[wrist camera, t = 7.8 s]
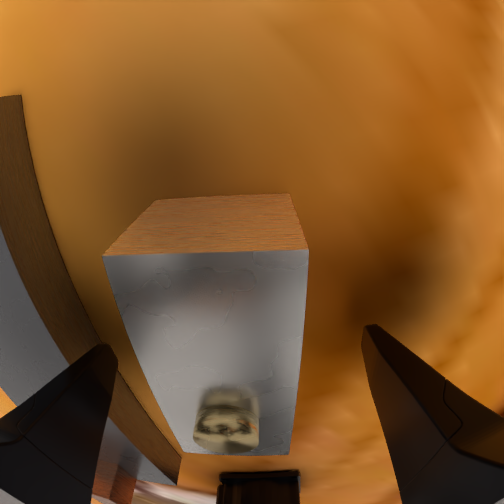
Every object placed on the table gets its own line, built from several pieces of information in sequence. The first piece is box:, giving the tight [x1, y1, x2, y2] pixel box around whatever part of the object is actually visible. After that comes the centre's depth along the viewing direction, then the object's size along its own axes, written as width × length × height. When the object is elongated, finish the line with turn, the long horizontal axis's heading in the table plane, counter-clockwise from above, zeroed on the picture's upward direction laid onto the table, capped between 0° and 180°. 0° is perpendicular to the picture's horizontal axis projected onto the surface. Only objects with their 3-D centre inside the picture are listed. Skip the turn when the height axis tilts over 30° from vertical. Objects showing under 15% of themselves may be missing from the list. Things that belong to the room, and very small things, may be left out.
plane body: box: [0, 95, 181, 504], centre depth 10 cm, size 24×9×6 cm, turn 8°
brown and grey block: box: [102, 193, 309, 456], centre depth 9 cm, size 9×4×5 cm, turn 2°
